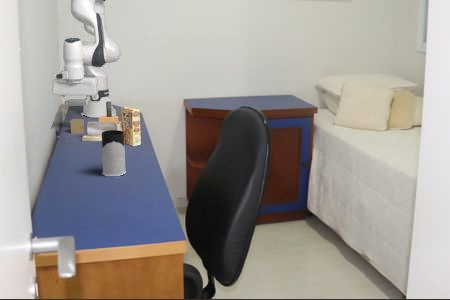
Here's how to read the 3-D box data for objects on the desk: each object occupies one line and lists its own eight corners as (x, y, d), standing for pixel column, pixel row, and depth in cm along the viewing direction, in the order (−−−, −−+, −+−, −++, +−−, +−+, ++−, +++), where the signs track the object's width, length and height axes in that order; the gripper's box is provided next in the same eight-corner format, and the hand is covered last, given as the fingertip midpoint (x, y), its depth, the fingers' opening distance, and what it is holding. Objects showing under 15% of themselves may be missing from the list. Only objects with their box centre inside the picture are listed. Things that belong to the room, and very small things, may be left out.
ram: (101, 126, 255) (100, 101, 252) (118, 126, 255) (117, 101, 252) (99, 128, 249) (98, 103, 246) (116, 129, 249) (115, 103, 246)
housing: (73, 131, 251) (72, 118, 250) (84, 131, 251) (83, 119, 250) (71, 133, 247) (70, 120, 245) (82, 133, 247) (81, 120, 246)
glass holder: (102, 178, 184) (100, 136, 180) (100, 166, 197) (98, 127, 193) (128, 176, 186) (126, 134, 182) (124, 165, 199) (122, 125, 196)
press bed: (94, 128, 257) (93, 113, 255) (127, 129, 257) (127, 113, 255) (82, 140, 234) (81, 124, 232) (118, 141, 234) (118, 124, 232)
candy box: (141, 145, 229) (140, 109, 225) (133, 146, 226) (132, 110, 222) (129, 141, 235) (128, 106, 231) (121, 142, 232) (120, 107, 228)
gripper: (98, 74, 245) (100, 104, 249) (54, 73, 245) (55, 103, 248) (95, 75, 239) (97, 106, 242) (49, 75, 239) (51, 105, 242)
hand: (75, 105), depth 245 cm, fingers open, 8 cm apart
